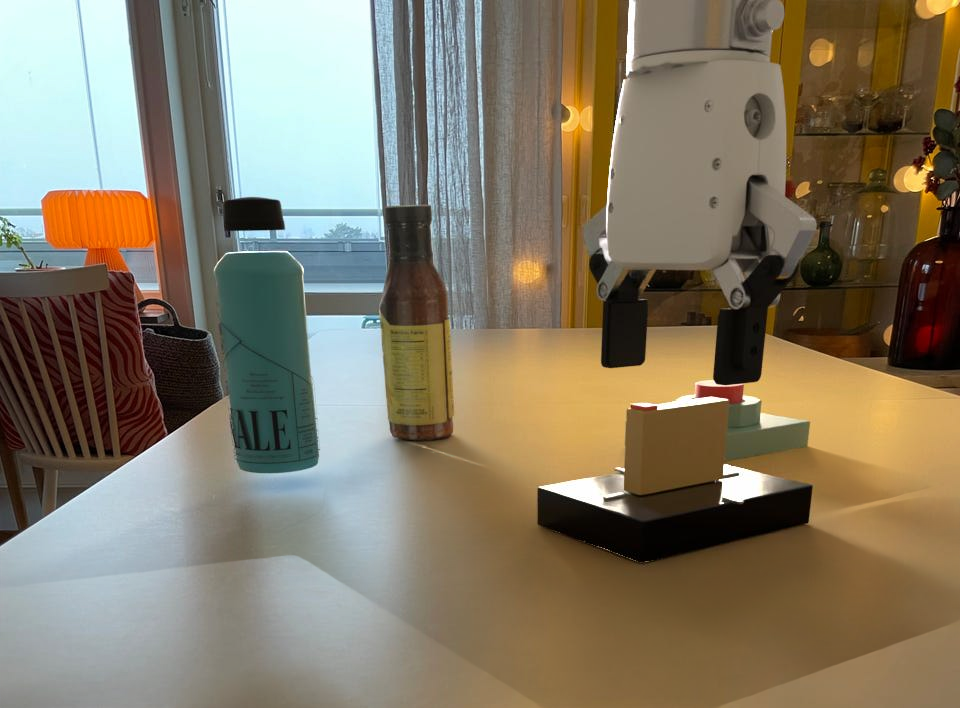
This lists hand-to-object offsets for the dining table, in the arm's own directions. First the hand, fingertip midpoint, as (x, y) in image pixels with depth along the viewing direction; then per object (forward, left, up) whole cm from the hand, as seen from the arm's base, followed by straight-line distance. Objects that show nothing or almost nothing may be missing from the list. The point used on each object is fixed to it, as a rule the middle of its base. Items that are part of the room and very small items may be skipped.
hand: (676, 374), depth 58 cm
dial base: (0, 0, -9) cm, 9 cm away
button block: (-20, -16, -9) cm, 27 cm away
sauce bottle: (-2, -36, -10) cm, 37 cm away
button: (-20, -16, -6) cm, 26 cm away
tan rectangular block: (0, 0, -7) cm, 7 cm away
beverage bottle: (+16, -26, -10) cm, 32 cm away
